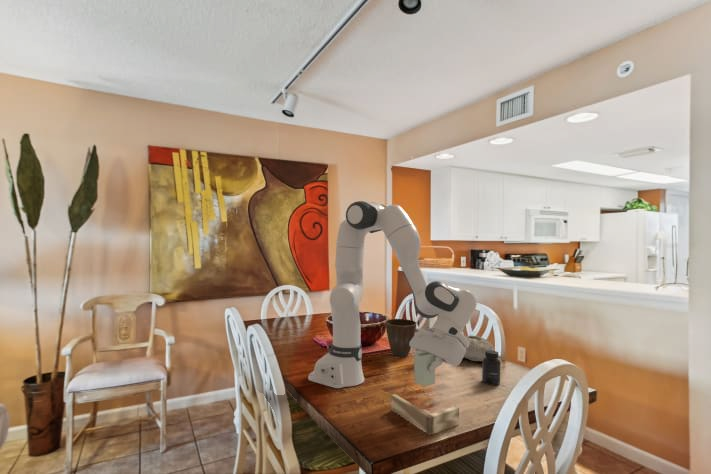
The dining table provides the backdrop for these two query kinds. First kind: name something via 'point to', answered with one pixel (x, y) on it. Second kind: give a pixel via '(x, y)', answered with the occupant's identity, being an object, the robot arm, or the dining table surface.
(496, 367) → the supplement bottle
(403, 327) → the plant pot
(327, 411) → the dining table surface
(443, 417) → the corner bracket
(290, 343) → the dining table surface
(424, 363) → the sage block
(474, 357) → the decorative shell
